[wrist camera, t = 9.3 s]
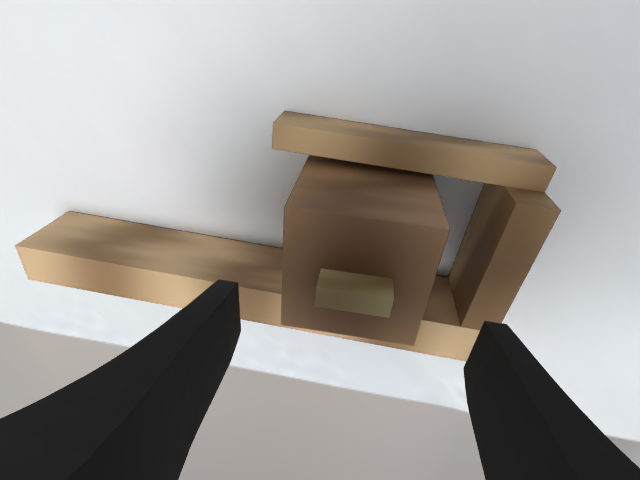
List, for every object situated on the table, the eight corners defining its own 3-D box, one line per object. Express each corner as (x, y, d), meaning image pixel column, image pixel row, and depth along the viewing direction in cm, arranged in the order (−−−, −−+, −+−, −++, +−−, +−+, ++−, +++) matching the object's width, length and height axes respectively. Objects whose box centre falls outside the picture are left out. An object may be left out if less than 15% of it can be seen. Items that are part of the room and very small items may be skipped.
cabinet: (427, 160, 16) (456, 247, 10) (404, 255, 19) (416, 368, 13) (313, 146, 16) (276, 222, 10) (307, 241, 19) (274, 344, 13)
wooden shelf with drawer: (536, 149, 15) (575, 183, 12) (464, 311, 20) (479, 363, 17) (28, 71, 16) (-50, 84, 13) (77, 241, 21) (28, 279, 18)
